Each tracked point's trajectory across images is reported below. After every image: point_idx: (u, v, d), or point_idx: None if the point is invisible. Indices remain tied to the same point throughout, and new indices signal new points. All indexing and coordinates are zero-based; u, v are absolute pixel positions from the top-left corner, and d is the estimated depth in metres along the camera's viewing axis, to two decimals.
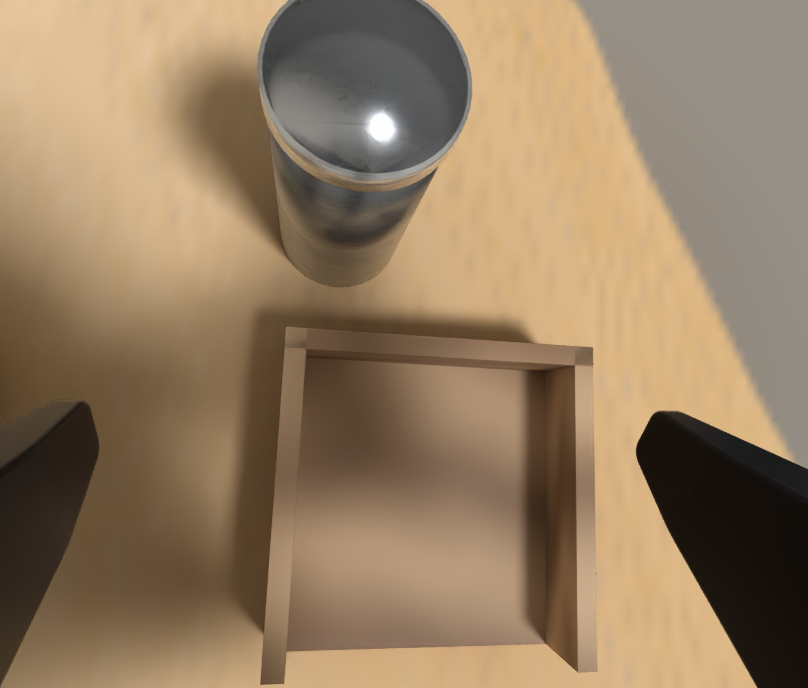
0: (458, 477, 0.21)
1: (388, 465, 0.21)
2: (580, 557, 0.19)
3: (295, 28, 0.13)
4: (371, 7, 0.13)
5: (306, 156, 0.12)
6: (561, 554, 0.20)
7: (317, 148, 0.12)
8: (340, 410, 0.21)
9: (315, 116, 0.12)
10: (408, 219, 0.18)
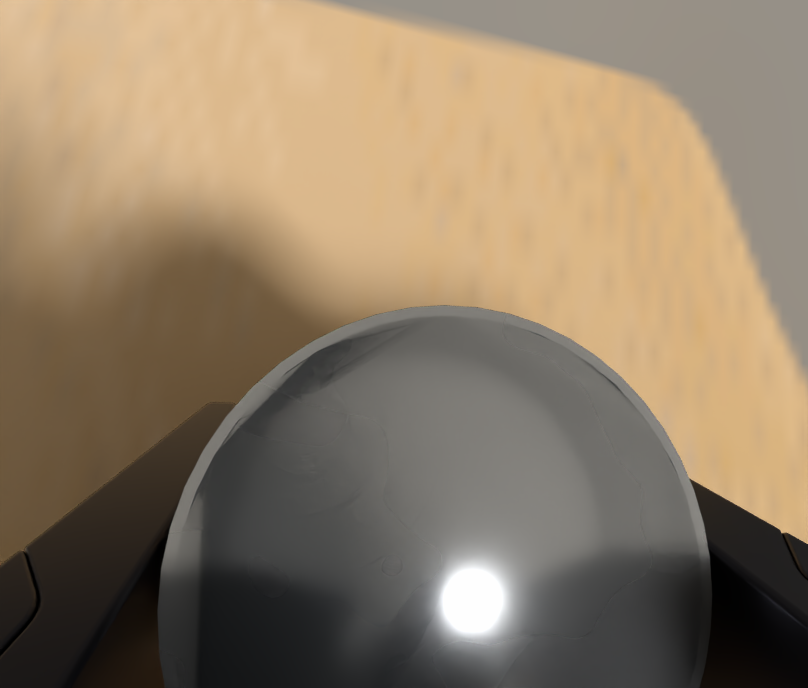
0: None
1: None
2: None
3: (266, 470, 0.05)
4: (461, 383, 0.05)
5: None
6: None
7: None
8: None
9: None
10: None
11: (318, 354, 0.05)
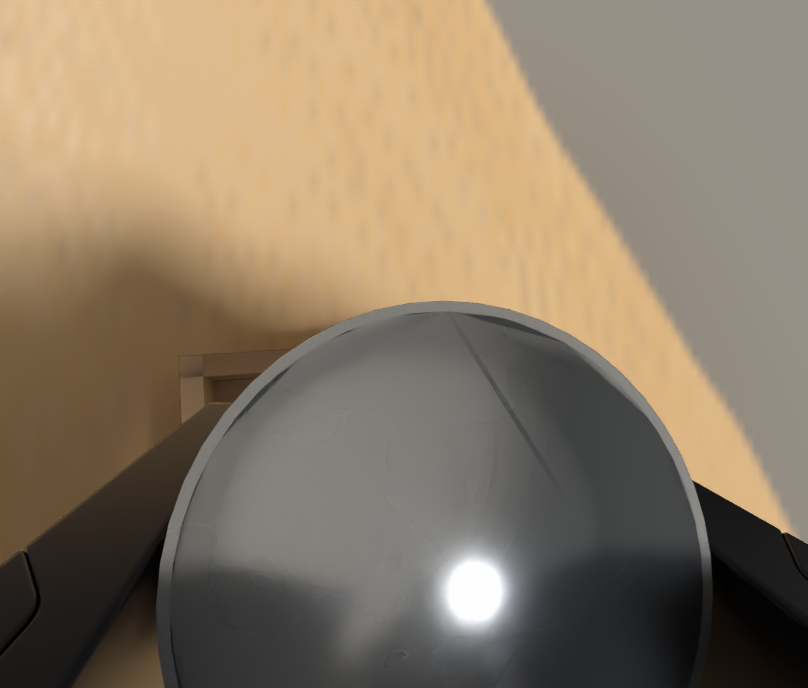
0: None
1: None
2: None
3: (265, 466, 0.05)
4: (460, 379, 0.05)
5: None
6: None
7: None
8: None
9: None
10: None
11: (317, 349, 0.05)
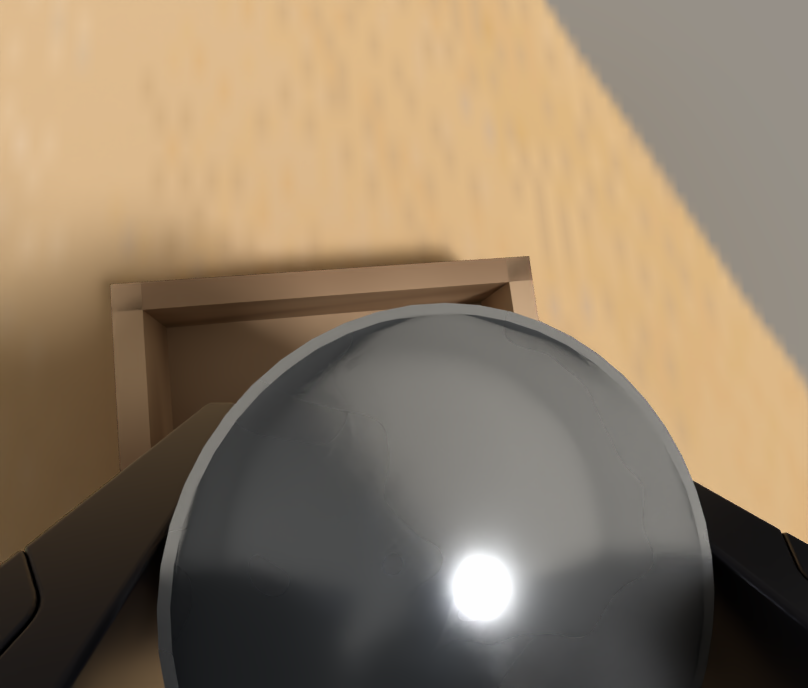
0: None
1: None
2: None
3: (266, 468, 0.05)
4: (462, 381, 0.05)
5: None
6: None
7: None
8: (222, 387, 0.16)
9: None
10: None
11: (318, 351, 0.05)
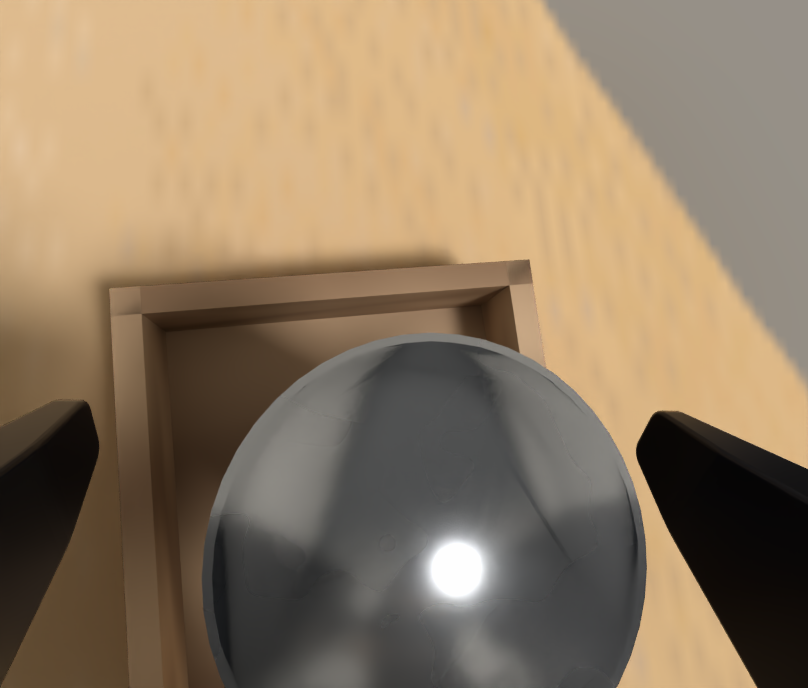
0: None
1: None
2: None
3: (287, 467, 0.06)
4: (443, 396, 0.06)
5: None
6: None
7: None
8: (221, 391, 0.16)
9: (328, 678, 0.06)
10: None
11: (328, 373, 0.06)
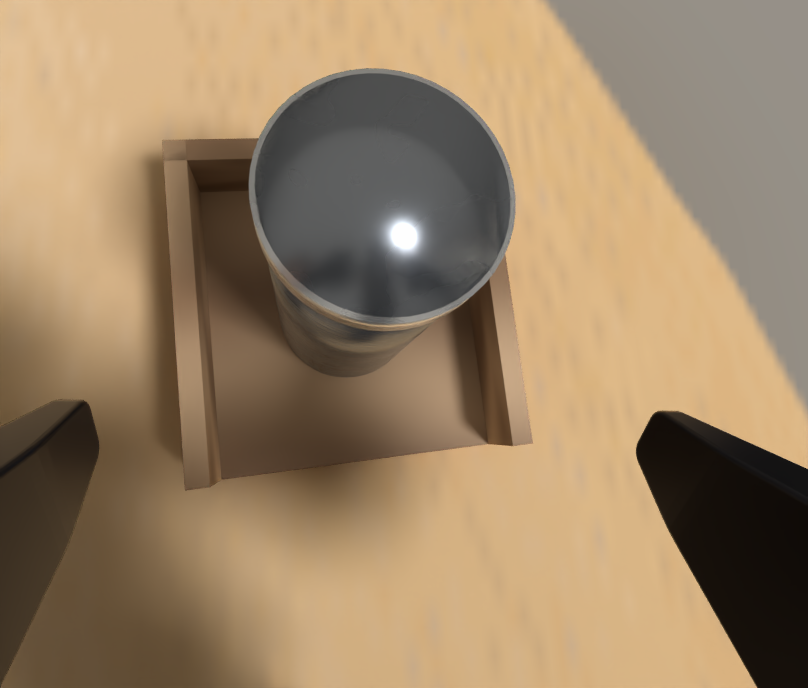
0: None
1: None
2: (501, 337, 0.19)
3: (297, 133, 0.10)
4: (391, 104, 0.11)
5: (308, 297, 0.10)
6: (487, 346, 0.20)
7: (322, 287, 0.10)
8: (244, 240, 0.20)
9: (320, 245, 0.10)
10: None
11: (321, 85, 0.10)
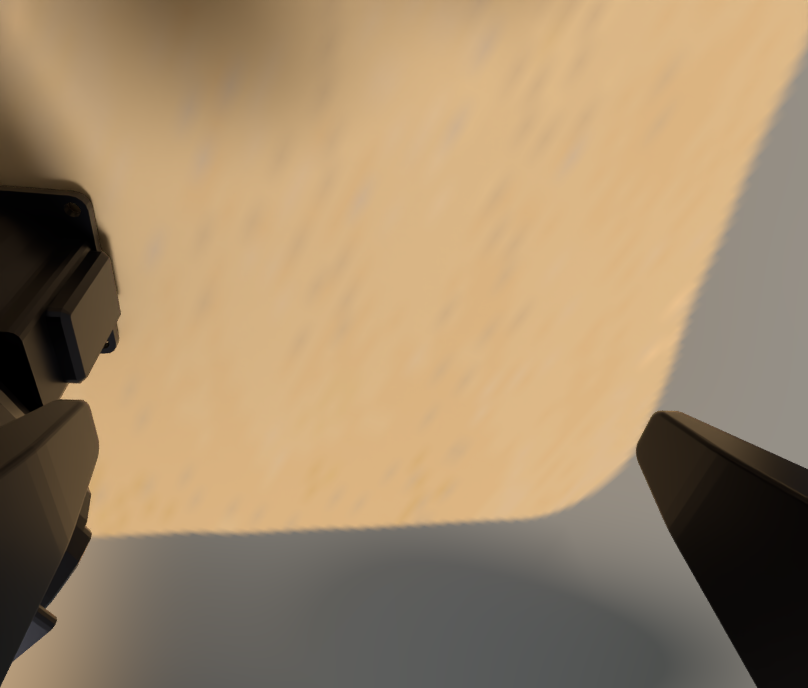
0: None
1: None
2: None
3: None
4: None
5: None
6: None
7: None
8: None
9: None
10: None
11: None
